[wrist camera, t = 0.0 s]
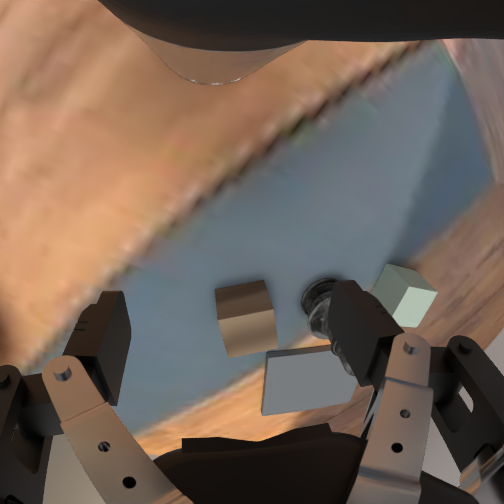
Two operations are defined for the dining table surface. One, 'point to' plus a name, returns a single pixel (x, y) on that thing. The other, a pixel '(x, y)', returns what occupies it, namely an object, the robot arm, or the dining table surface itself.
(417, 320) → the sage block
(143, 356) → the dining table surface
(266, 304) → the walnut block
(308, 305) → the salt shaker
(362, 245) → the dining table surface
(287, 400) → the serving board
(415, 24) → the robot arm
